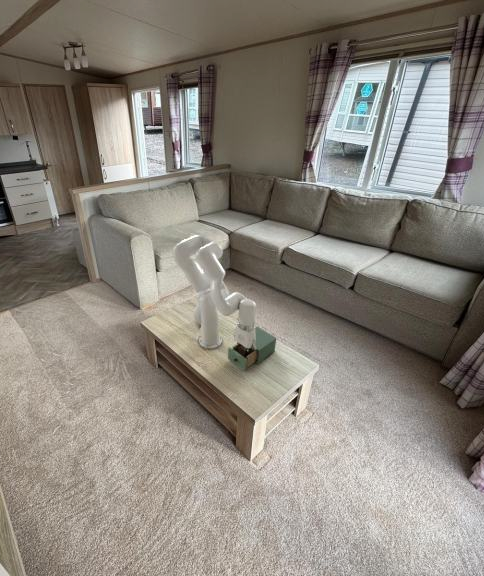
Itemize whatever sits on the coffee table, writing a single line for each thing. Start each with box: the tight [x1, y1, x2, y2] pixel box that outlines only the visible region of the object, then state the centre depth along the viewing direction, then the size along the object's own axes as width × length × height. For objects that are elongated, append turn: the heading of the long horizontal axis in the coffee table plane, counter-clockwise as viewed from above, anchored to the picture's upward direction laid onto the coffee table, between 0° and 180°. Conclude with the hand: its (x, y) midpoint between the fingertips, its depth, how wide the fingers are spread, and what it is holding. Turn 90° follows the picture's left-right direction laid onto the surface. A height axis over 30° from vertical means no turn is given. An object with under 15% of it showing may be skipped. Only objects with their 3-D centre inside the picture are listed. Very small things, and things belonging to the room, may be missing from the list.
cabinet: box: [254, 326, 277, 365], centre depth 156 cm, size 14×13×9 cm
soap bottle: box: [192, 287, 219, 326], centre depth 173 cm, size 17×12×29 cm
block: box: [238, 345, 246, 357], centre depth 149 cm, size 4×4×4 cm
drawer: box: [227, 343, 258, 372], centre depth 150 cm, size 14×11×7 cm
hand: (243, 352), depth 150 cm, fingers closed on block, 4 cm apart
